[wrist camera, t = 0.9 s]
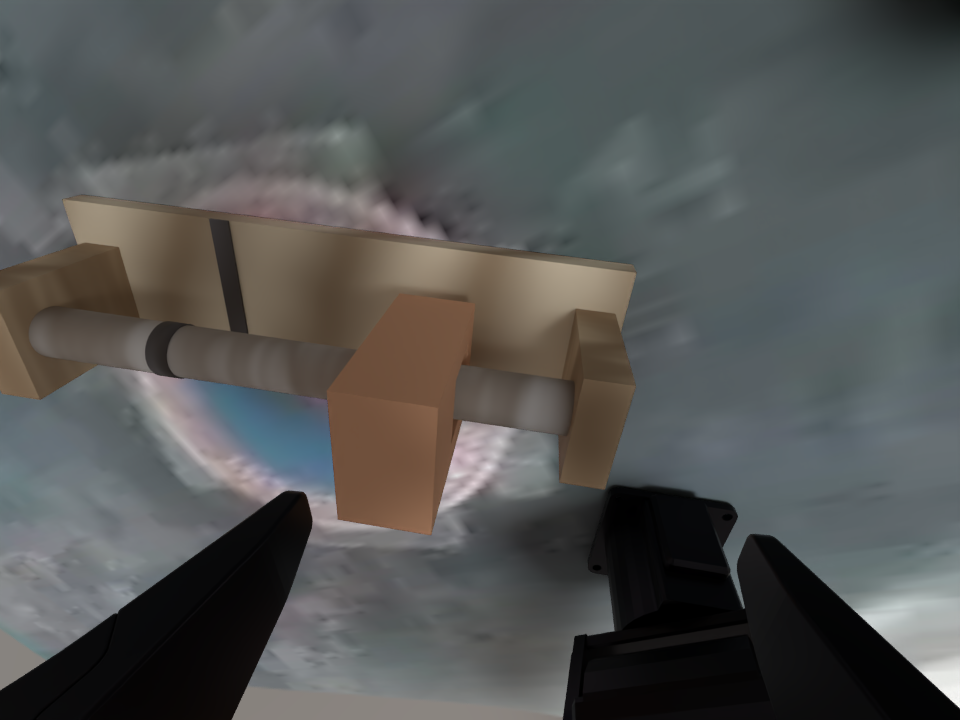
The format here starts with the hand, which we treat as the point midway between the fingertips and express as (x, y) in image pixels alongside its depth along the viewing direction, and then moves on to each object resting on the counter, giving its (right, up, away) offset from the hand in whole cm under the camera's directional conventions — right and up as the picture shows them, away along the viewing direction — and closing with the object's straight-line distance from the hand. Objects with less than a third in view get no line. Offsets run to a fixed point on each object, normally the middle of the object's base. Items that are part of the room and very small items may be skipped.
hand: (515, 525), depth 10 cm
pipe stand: (-7, +6, +12) cm, 15 cm away
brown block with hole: (-3, +4, +10) cm, 11 cm away
